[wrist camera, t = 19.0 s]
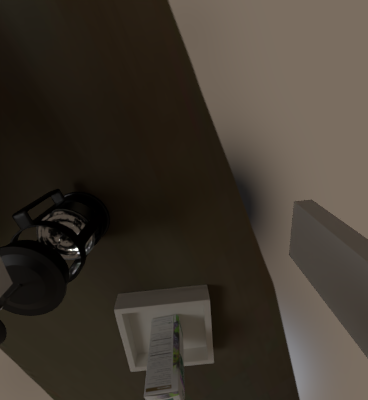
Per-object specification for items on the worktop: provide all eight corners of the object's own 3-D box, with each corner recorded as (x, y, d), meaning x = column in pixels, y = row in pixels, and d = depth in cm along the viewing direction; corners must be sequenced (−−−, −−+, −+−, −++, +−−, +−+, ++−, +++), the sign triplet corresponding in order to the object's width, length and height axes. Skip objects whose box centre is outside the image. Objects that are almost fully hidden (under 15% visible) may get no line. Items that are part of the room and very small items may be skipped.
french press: (120, 234, 42) (61, 360, 21) (74, 251, 43) (-30, 389, 22) (88, 174, 39) (-27, 252, 17) (37, 194, 40) (-132, 293, 18)
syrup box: (183, 332, 52) (187, 412, 38) (157, 337, 52) (151, 419, 39) (178, 313, 50) (180, 391, 36) (150, 318, 50) (142, 398, 36)
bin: (133, 353, 55) (130, 371, 51) (118, 293, 48) (113, 309, 44) (211, 345, 55) (213, 362, 52) (207, 284, 48) (209, 299, 45)
